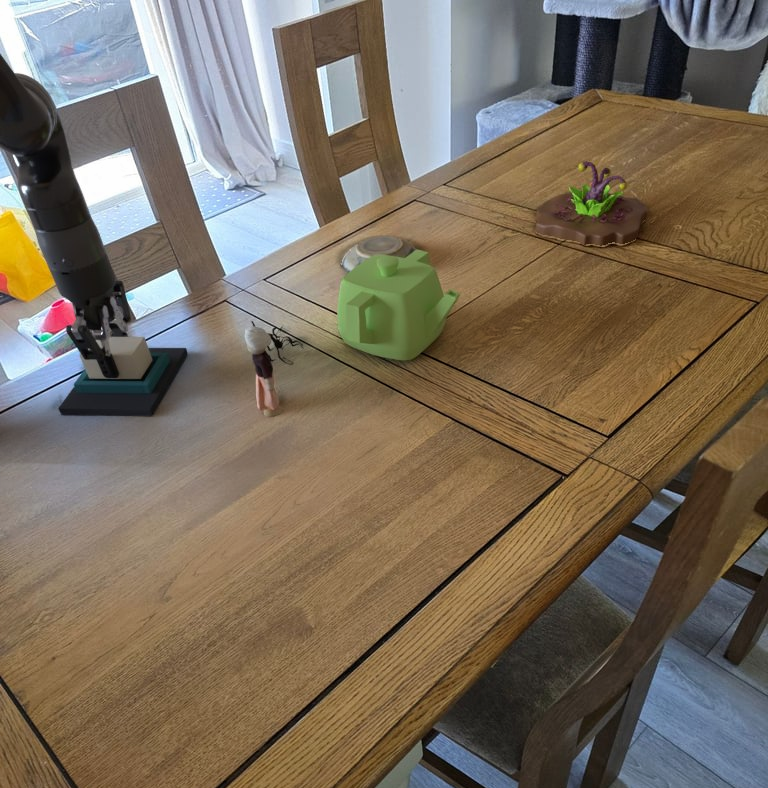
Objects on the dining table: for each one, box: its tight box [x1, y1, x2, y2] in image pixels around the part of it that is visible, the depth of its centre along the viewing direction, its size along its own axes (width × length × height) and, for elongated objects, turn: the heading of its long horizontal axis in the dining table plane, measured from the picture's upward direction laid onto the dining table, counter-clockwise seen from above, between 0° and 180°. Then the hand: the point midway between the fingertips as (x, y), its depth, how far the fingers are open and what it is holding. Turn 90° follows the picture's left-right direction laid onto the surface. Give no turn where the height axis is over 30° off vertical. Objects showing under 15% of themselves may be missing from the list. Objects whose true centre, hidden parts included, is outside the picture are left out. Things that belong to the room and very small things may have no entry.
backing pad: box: [57, 347, 189, 417], centre depth 104 cm, size 14×16×3 cm
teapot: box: [336, 249, 461, 361], centre depth 102 cm, size 18×20×13 cm
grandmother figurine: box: [244, 325, 284, 418], centre depth 93 cm, size 8×4×13 cm, turn 27°
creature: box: [250, 320, 304, 366], centre depth 106 cm, size 8×5×8 cm
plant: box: [534, 160, 649, 246], centre depth 128 cm, size 20×20×11 cm
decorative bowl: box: [340, 234, 417, 273], centre depth 125 cm, size 15×4×15 cm
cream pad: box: [78, 336, 152, 379], centre depth 102 cm, size 8×5×4 cm, turn 83°
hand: (119, 365), depth 102 cm, fingers closed on cream pad, 5 cm apart
